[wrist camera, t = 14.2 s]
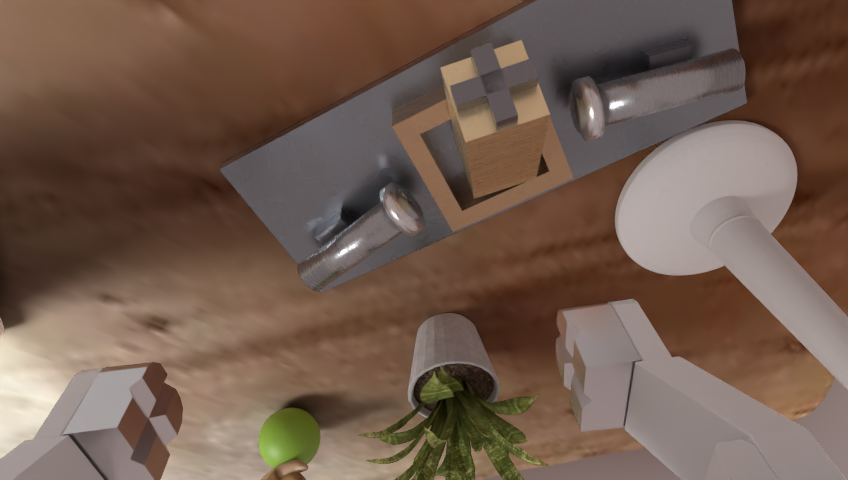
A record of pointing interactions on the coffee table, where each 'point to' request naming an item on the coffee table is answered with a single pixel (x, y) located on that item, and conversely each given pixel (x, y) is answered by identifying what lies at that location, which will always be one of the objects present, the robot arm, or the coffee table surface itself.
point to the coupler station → (433, 134)
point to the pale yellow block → (496, 116)
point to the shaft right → (655, 86)
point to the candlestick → (729, 225)
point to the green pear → (289, 443)
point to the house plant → (456, 406)
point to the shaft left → (360, 236)
